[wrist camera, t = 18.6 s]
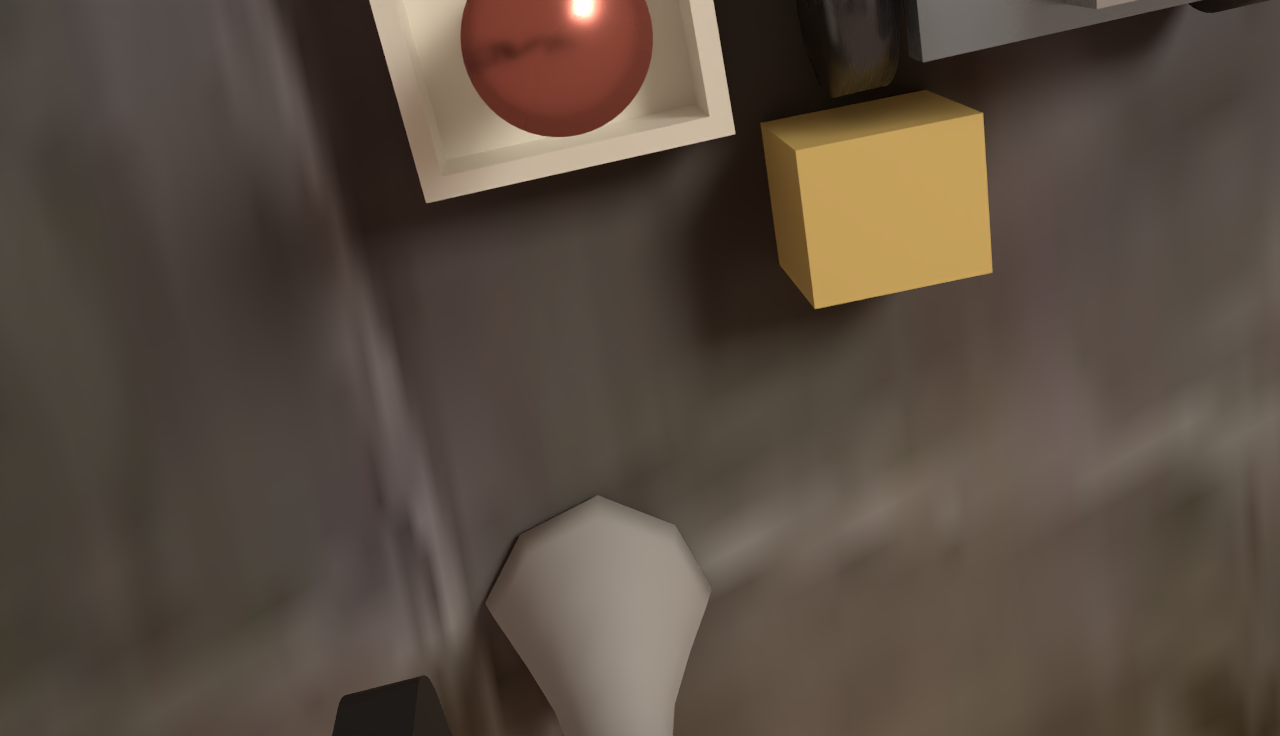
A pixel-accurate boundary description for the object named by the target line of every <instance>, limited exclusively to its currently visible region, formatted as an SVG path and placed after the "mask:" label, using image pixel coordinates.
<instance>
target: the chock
mask: <svg viewBox="0 0 1280 736" xmlns="http://www.w3.org/2000/svg"><path fill="white" fill-rule="evenodd" d="M760 124H761V131H762V139H763V146H764V154H765V161H766V168H767V176H768V183H769V191H770V198H771V206H772V213H773V221H774V228H775V235H776V243H777V250H778V258H779V265H780V266H781V267H782V268H783V270H784V271H785V272H786V273H787V275H788V276H789V277H790V278H791V280H792V281H793V282H794V283H795V285H796V286H797V287H798V288H799V290H800V291H801V292H802V293H803V295H804V296H805V297H806V298H807V300H808V301H809V302H810V304H811V305H812V306H813V307H814V309H818V308H823V307H828V306H833V305H837V304H842V303H847V302H852V301H857V300H862V299H867V298H871V297H876V296H881V295H886V294H891V293H896V292H900V291H905V290H910V289H915V288H920V287H925V286H929V285H934V284H939V283H944V282H949V281H954V280H959V279H963V278H968V277H973V276H978V275H983V274H988V273H992V256H991V239H990V222H989V205H988V188H987V171H986V154H985V136H984V119H983V113H982V112H980V111H977V110H975V109H972V108H970V107H967V106H965V105H962V104H960V103H957V102H955V101H952V100H950V99H947V98H945V97H942V96H940V95H938V94H935V93H933V92H930V91H928V90H923V91H918V92H913V93H908V94H903V95H898V96H893V97H888V98H883V99H877V100H872V101H867V102H862V103H857V104H852V105H847V106H842V107H837V108H832V109H827V110H822V111H817V112H812V113H807V114H802V115H797V116H792V117H787V118H782V119H777V120H772V121H767V122H762V123H760Z"/></svg>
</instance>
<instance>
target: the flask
mask: <svg viewBox="0 0 1280 736" xmlns="http://www.w3.org/2000/svg"><path fill="white" fill-rule="evenodd" d="M711 590H712V588H711V587H710V585H709V583H708V582H707V580H706V578H705V576H704V575H703V573H702V571H701V569H700V568H699V566H698V564H697V562H696V561H695V559H694V557H693V555H692V554H691V552H690V550H689V548H688V547H687V545H686V543H685V541H684V540H683V538H682V536H681V534H680V533H679V531H678V529H677V527H676V526H675V525H673V524H671V523H668V522H665V521H663V520H660V519H658V518H655V517H652V516H650V515H647V514H645V513H642V512H640V511H637V510H634V509H632V508H629V507H627V506H624V505H621V504H619V503H616V502H614V501H611V500H608V499H606V498H603V497H601V496H598V495H597V496H595V497H593V498H591V499H589V500H587V501H585V502H583V503H581V504H579V505H577V506H576V507H574V508H572V509H570V510H568V511H566V512H564V513H562V514H560V515H558V516H556V517H554V518H552V519H550V520H548V521H546V522H544V523H542V524H540V525H538V526H536V527H534V528H532V529H530V530H528V531H526V532H524V533H522V534H520V536H519V538H518V540H517V542H516V544H515V545H514V547H513V549H512V551H511V553H510V555H509V557H508V559H507V561H506V563H505V565H504V567H503V569H502V571H501V573H500V575H499V577H498V579H497V581H496V583H495V585H494V587H493V589H492V591H491V593H490V594H489V596H488V598H487V600H486V602H485V605H486V606H487V608H488V609H489V611H490V613H491V614H492V616H493V617H494V619H495V620H496V622H497V623H498V625H499V626H500V628H501V629H502V631H503V632H504V634H505V635H506V637H507V638H508V639H509V641H510V642H511V644H512V645H513V647H514V648H515V650H516V651H517V653H518V654H519V656H520V657H521V659H522V660H523V662H524V663H525V664H526V666H527V667H528V669H529V671H530V672H531V674H532V676H533V677H534V679H535V680H536V682H537V684H538V685H539V687H540V688H541V690H542V692H543V693H544V695H545V697H546V698H547V700H548V701H549V703H550V705H551V706H552V708H553V710H554V711H555V713H556V716H557V718H558V721H559V724H560V727H561V730H562V733H563V735H564V736H673V721H674V705H675V701H676V697H677V694H678V691H679V687H680V684H681V681H682V677H683V674H684V671H685V667H686V664H687V660H688V657H689V654H690V650H691V647H692V645H693V642H694V639H695V636H696V634H697V631H698V628H699V625H700V622H701V620H702V617H703V614H704V611H705V609H706V606H707V603H708V599H709V596H710V593H711Z"/></svg>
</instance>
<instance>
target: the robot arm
mask: <svg viewBox="0 0 1280 736" xmlns="http://www.w3.org/2000/svg"><path fill="white" fill-rule="evenodd" d="M332 736H452V735H451V732H450V729H449V726H448V724H447V721H446V718H445V715H444V712H443V710H442V707H441V704H440V701H439V698H438V696H437V693H436V691H435V688H434V686H433V684H432V683H431V681H430V679H429V678H428V677H427V676H425V675H424V676H420V677H416V678H412V679H408V680H404V681H400V682H396V683H392V684H388V685H384V686H380V687H376V688H372V689H368V690H364V691H360V692H356V693H352V694H348V695H344V696H343V697H342V699H341V701H340V703H339V706H338V711H337V715H336V720H335V725H334V729H333V734H332Z"/></svg>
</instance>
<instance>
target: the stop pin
mask: <svg viewBox="0 0 1280 736" xmlns="http://www.w3.org/2000/svg"><path fill="white" fill-rule="evenodd" d="M460 39H461V51H462V56H463V61H464V65H465V68H466V71H467V74H468V76H469V78H470V80H471V82H472V84H473V86H474V88H475V90H476V91H477V93H478V94H479V96H480V97H481V99H482V100H483V101H484V102H485V103H486V104H487V106H488V107H489V108H490V109H491V110H492V111H493V112H495V113H496V114H497V115H498V116H499V117H501V118H502V119H503V120H505V121H506V122H508V123H509V124H511V125H513V126H515V127H517V128H519V129H521V130H524V131H526V132H529V133H532V134H536V135H541V136H547V137H570V136H576V135H581V134H584V133H587V132H591V131H593V130H595V129H597V128H600V127H602V126H603V125H605V124H607V123H608V122H610V121H612V120H613V119H614V118H615V117H617V116H618V115H619V114H620V113H621V112H623V110H624V109H625V108H626V107H627V106H628V105H629V104H630V103H631V102H632V100H633V99H634V97H635V96H636V95H637V93H638V92H639V90H640V88H641V86H642V84H643V82H644V80H645V77H646V75H647V72H648V69H649V65H650V61H651V57H652V49H653V30H652V22H651V17H650V13H649V9H648V6H647V3H646V1H645V0H467V1H466V4H465V7H464V11H463V16H462V21H461V33H460Z"/></svg>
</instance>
